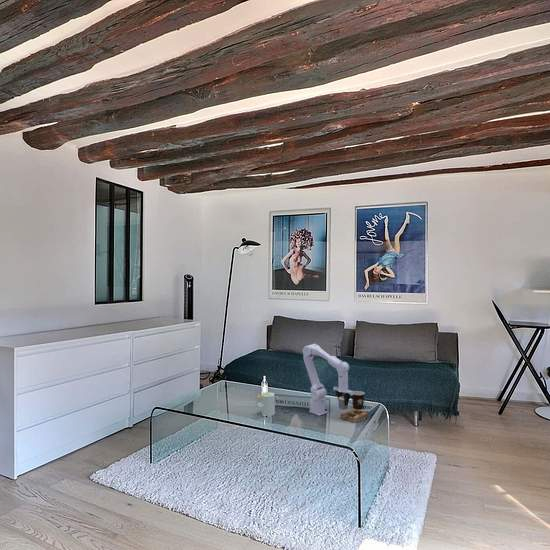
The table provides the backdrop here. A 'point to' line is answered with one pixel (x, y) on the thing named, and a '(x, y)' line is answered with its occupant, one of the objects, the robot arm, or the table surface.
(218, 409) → the table surface
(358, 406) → the coffee mug
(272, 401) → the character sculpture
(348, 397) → the robot arm
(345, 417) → the socket board
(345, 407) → the plug
